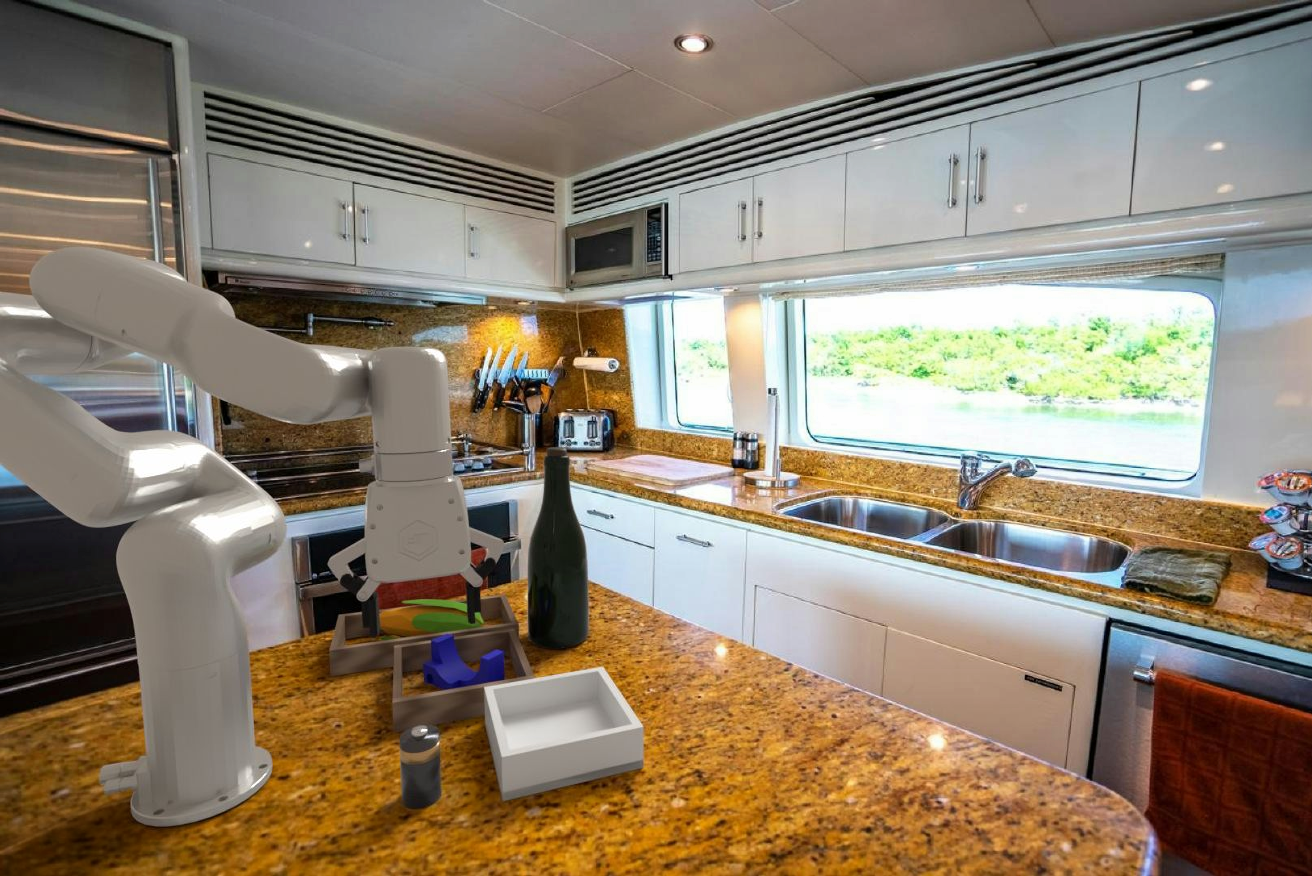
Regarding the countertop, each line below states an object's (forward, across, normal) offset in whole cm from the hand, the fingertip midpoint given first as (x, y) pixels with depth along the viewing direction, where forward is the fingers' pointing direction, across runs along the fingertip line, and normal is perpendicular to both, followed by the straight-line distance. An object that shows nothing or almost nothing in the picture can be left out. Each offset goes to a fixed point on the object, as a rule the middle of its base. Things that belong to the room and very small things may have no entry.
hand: (424, 626), depth 67 cm
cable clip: (+19, +4, +23) cm, 30 cm away
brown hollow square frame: (+18, +4, +22) cm, 29 cm away
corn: (+18, -1, +40) cm, 44 cm away
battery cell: (+19, -1, -1) cm, 19 cm away
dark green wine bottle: (+19, +20, +35) cm, 45 cm away
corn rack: (+18, -1, +40) cm, 44 cm away
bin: (+19, +14, +4) cm, 24 cm away
